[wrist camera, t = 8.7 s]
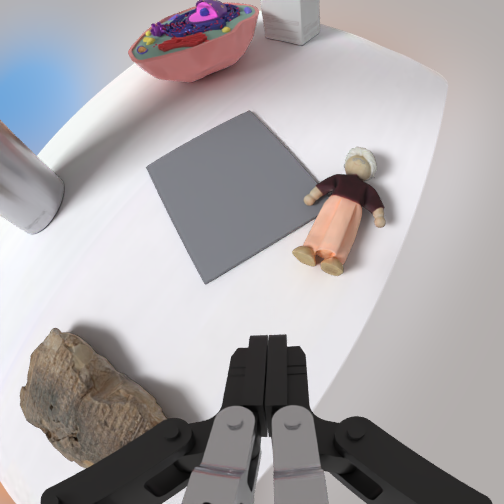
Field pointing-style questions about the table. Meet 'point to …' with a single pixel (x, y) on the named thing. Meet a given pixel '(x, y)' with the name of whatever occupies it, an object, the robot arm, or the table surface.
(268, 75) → the table surface
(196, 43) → the cell model
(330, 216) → the grandmother figurine
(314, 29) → the supplement box
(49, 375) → the clay tablet
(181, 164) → the felt mat
